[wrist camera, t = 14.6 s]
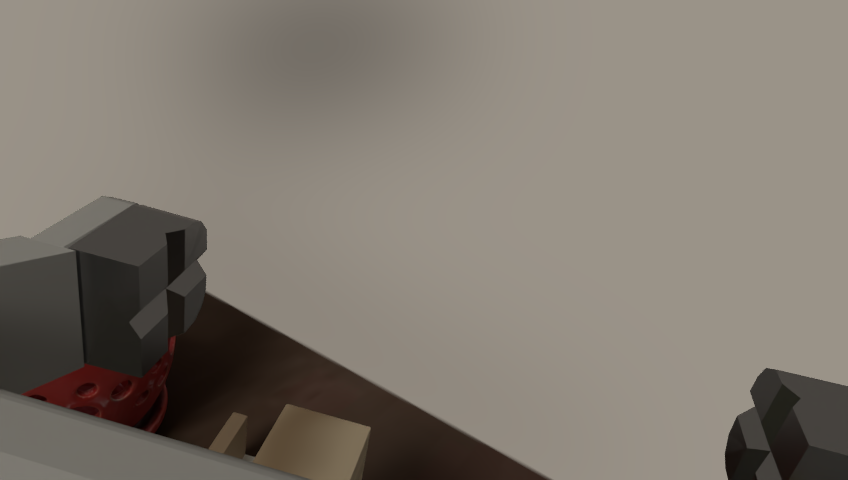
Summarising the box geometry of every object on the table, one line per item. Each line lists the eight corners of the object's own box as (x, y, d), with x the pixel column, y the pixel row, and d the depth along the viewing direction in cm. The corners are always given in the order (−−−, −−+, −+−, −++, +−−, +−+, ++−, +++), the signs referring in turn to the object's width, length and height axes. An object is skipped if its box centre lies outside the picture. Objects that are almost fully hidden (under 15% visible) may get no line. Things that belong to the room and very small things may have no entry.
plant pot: (-35, 388, 49) (-62, 245, 43) (157, 354, 56) (155, 225, 50) (-35, 532, 39) (-70, 372, 34) (196, 470, 46) (199, 327, 41)
